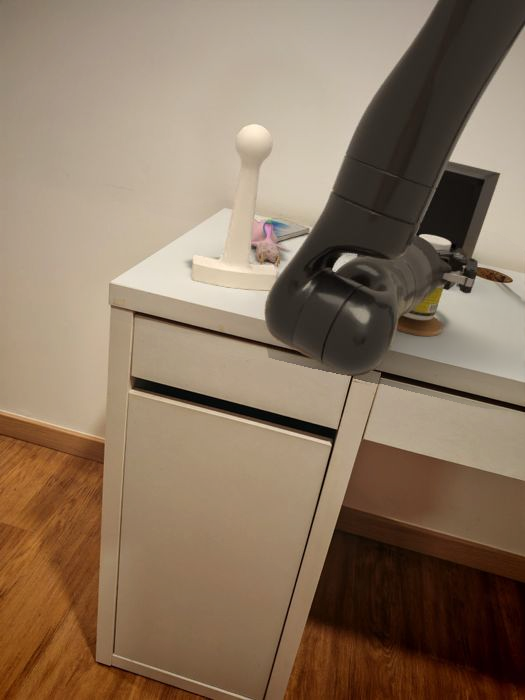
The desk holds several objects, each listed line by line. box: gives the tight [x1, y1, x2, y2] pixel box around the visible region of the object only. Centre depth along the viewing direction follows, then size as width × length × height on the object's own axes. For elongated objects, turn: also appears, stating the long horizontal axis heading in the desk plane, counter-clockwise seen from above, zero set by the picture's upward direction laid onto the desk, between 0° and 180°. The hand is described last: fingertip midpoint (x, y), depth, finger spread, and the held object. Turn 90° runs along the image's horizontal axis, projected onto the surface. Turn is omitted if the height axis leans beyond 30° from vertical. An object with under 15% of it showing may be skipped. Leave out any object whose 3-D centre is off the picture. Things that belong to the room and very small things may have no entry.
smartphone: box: [257, 217, 311, 242], centre depth 103 cm, size 7×1×15 cm
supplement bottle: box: [403, 234, 451, 320], centre depth 73 cm, size 5×5×10 cm
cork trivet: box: [396, 316, 443, 337], centre depth 76 cm, size 8×8×1 cm
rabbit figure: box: [251, 218, 287, 268], centre depth 91 cm, size 6×6×15 cm
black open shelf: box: [416, 160, 501, 291], centre depth 97 cm, size 13×22×17 cm, turn 60°
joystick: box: [190, 123, 278, 291], centre depth 75 cm, size 11×8×20 cm
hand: (436, 249), depth 74 cm, fingers closed on supplement bottle, 5 cm apart
